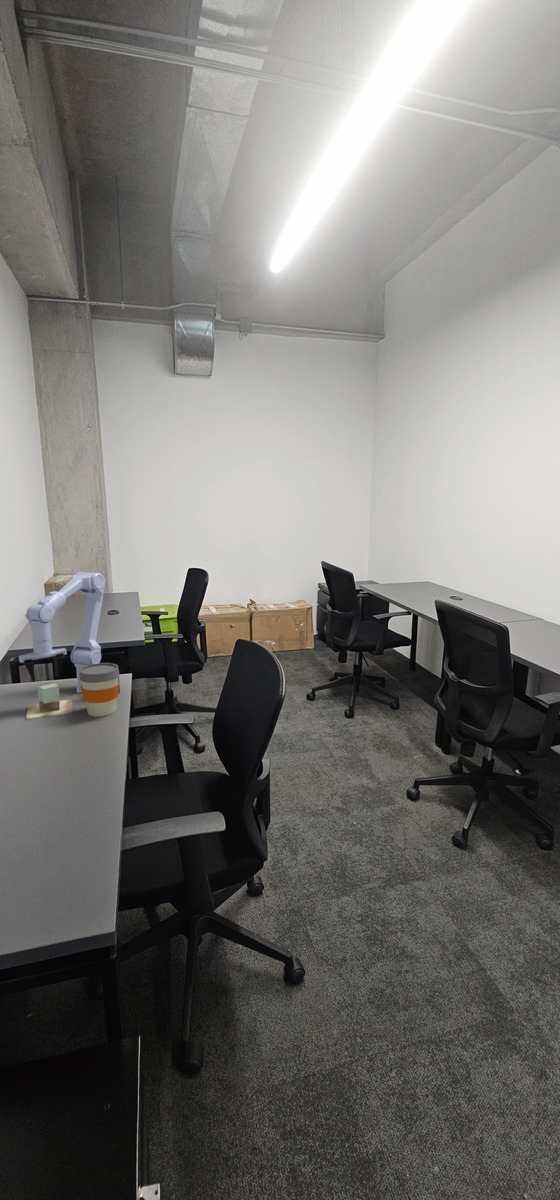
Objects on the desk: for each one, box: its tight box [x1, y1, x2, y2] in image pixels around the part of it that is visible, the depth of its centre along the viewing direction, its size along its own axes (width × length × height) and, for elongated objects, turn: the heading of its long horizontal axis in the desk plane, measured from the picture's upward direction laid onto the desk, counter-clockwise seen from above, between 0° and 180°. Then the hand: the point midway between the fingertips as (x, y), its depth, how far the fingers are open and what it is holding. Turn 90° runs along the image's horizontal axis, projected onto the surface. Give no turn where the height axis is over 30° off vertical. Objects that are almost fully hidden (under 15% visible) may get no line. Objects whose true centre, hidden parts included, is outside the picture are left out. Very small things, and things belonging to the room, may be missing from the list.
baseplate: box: [25, 698, 74, 721], centre depth 170 cm, size 14×12×4 cm
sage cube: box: [36, 681, 61, 704], centre depth 170 cm, size 5×5×5 cm
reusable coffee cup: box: [79, 662, 120, 717], centre depth 168 cm, size 13×13×15 cm
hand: (45, 678), depth 171 cm, fingers open, 7 cm apart
